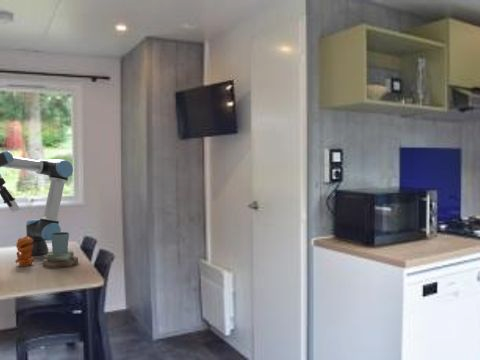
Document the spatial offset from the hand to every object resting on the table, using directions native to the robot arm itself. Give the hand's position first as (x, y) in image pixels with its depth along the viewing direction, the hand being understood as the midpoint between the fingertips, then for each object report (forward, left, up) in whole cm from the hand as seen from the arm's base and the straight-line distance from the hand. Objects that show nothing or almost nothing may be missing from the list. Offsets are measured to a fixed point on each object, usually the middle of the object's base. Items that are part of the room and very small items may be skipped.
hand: (16, 210), depth 269 cm
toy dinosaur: (-2, +4, -33) cm, 34 cm away
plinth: (-7, +24, -33) cm, 41 cm away
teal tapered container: (-7, +24, -26) cm, 36 cm away
